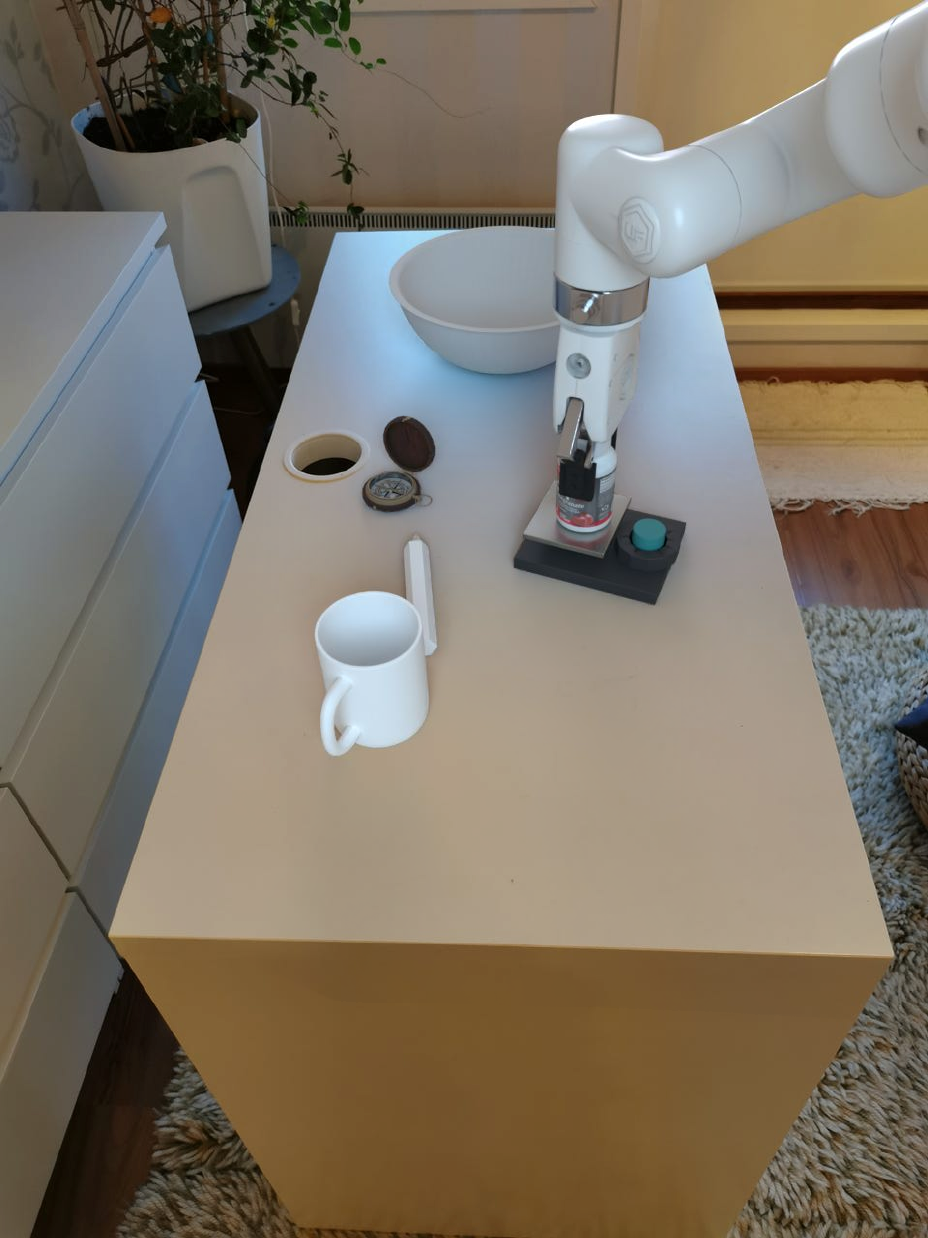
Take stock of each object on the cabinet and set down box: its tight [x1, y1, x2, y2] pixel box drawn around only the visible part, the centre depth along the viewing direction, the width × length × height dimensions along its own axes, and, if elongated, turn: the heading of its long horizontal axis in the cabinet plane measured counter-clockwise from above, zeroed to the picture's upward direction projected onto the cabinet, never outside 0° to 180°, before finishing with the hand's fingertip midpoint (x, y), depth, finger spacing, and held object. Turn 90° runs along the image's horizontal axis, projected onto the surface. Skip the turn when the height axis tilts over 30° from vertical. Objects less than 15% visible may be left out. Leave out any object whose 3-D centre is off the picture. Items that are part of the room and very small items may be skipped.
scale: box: [513, 508, 687, 606], centre depth 92 cm, size 14×11×3 cm
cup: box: [314, 590, 430, 757], centre depth 75 cm, size 8×12×10 cm
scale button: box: [632, 519, 666, 551], centre depth 90 cm, size 3×3×2 cm
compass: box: [361, 415, 436, 513], centre depth 98 cm, size 8×8×7 cm
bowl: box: [388, 225, 561, 375], centre depth 117 cm, size 27×27×10 cm
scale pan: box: [522, 479, 632, 558], centre depth 92 cm, size 8×9×1 cm
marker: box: [403, 531, 438, 657], centre depth 89 cm, size 3×2×16 cm
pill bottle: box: [556, 424, 618, 532], centre depth 88 cm, size 5×5×10 cm
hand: (587, 475), depth 88 cm, fingers closed on pill bottle, 5 cm apart
